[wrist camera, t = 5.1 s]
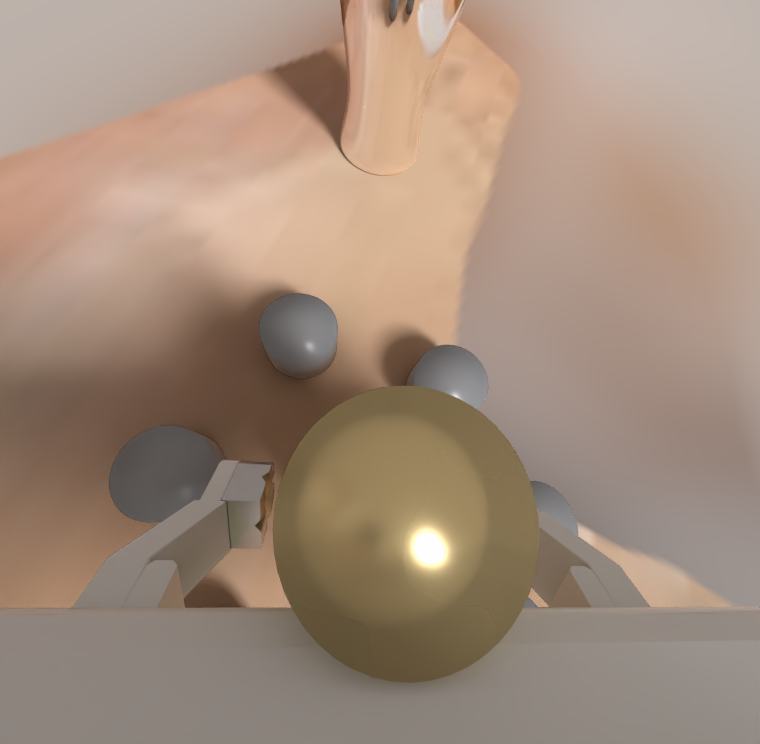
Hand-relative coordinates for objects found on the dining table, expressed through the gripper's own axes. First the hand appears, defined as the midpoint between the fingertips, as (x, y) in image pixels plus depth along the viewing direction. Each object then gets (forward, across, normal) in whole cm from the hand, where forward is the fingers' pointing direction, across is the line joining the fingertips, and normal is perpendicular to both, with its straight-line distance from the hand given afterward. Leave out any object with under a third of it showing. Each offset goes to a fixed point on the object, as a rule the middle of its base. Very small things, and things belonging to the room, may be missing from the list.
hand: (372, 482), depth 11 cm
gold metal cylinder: (+5, 0, -6) cm, 7 cm away
